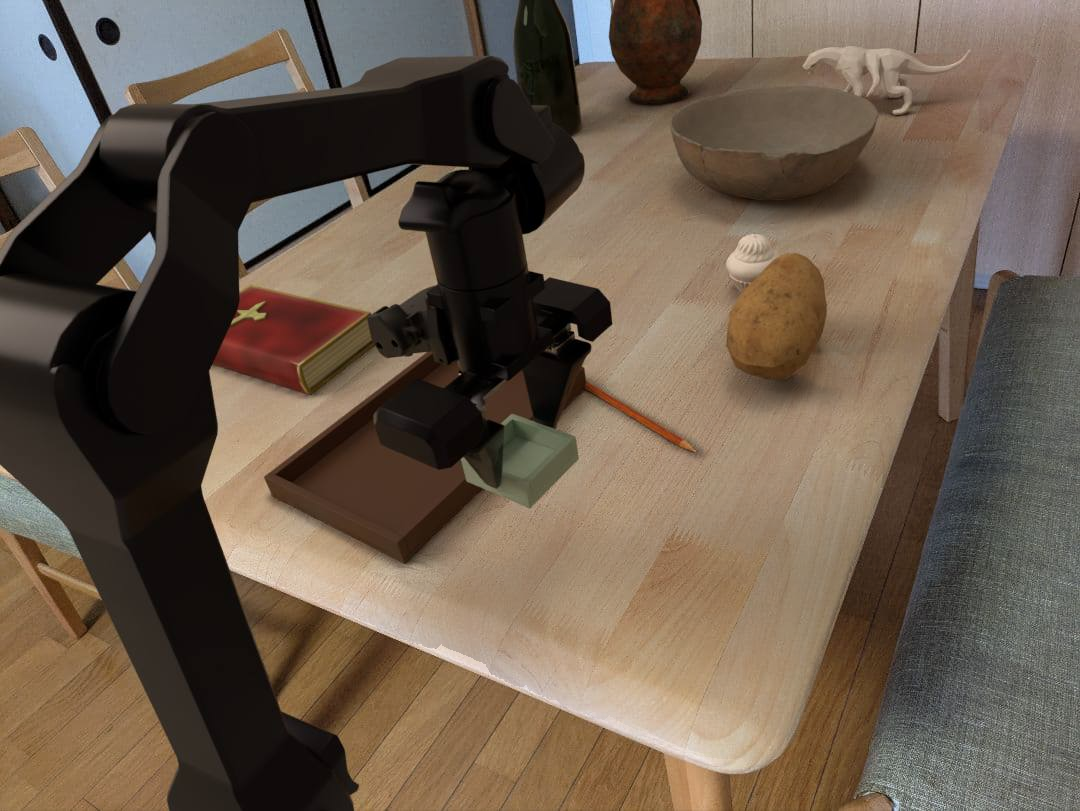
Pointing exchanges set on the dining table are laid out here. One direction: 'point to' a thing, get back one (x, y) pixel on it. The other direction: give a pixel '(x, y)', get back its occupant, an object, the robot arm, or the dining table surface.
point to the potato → (778, 318)
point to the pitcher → (655, 46)
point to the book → (292, 339)
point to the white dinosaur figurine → (876, 69)
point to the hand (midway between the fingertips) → (520, 459)
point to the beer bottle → (546, 61)
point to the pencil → (639, 417)
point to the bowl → (773, 139)
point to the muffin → (750, 260)
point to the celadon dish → (529, 460)
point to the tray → (388, 469)
